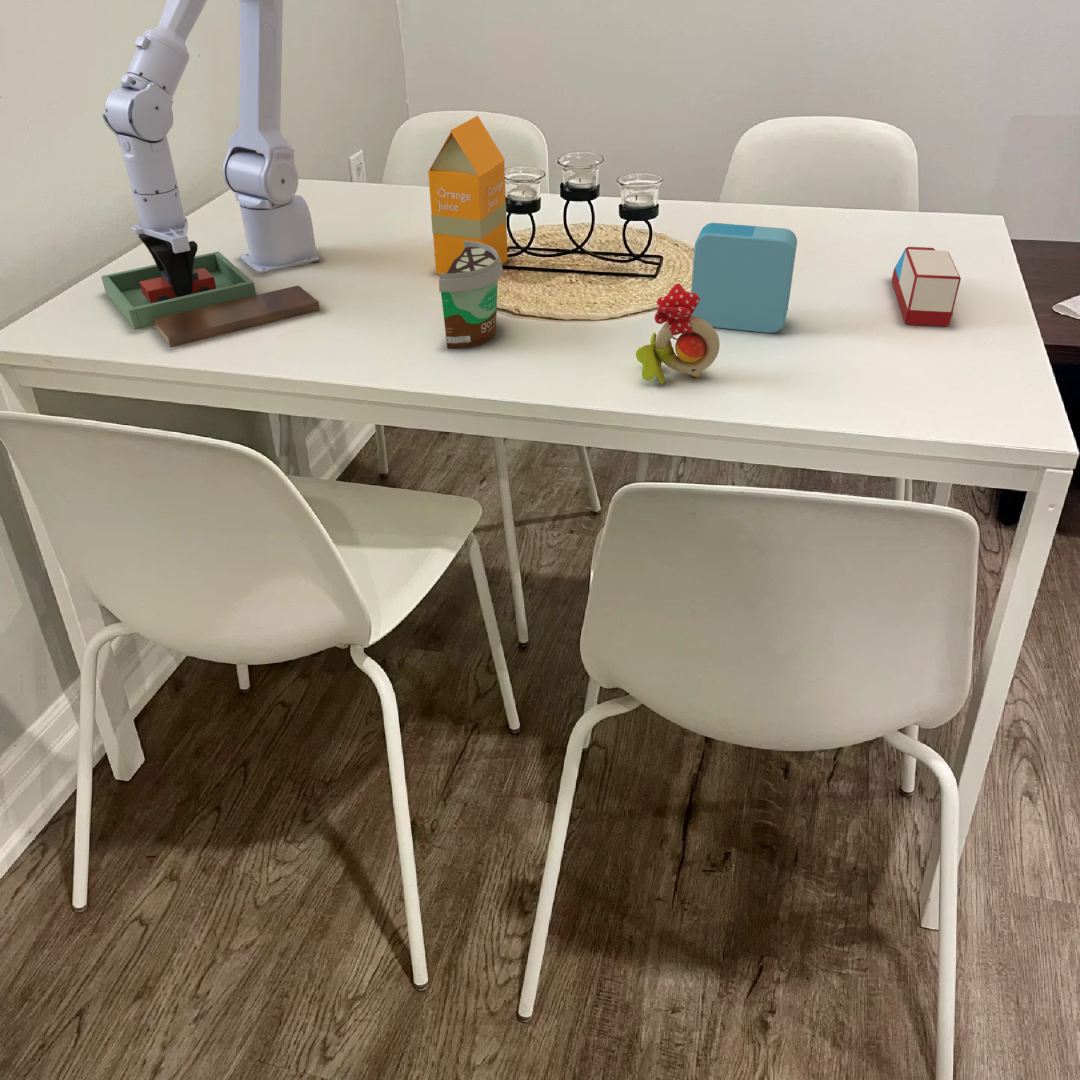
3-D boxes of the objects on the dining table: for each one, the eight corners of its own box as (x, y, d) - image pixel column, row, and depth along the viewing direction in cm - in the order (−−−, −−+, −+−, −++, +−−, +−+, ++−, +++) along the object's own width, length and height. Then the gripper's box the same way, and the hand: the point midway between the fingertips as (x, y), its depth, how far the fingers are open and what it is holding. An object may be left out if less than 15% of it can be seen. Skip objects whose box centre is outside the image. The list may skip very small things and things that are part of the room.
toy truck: (931, 283, 139) (942, 236, 135) (949, 327, 127) (961, 277, 123) (890, 281, 139) (900, 234, 135) (904, 325, 127) (915, 275, 123)
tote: (222, 269, 146) (218, 251, 145) (257, 301, 137) (253, 282, 135) (106, 295, 139) (100, 275, 138) (134, 331, 129) (129, 310, 128)
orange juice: (435, 274, 144) (423, 128, 132) (461, 253, 151) (452, 113, 139) (484, 281, 142) (477, 133, 130) (509, 259, 148) (504, 117, 136)
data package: (786, 321, 129) (799, 228, 122) (782, 335, 125) (795, 241, 118) (693, 311, 132) (701, 221, 125) (688, 325, 128) (695, 232, 121)
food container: (492, 357, 122) (489, 278, 116) (443, 353, 123) (437, 275, 117) (514, 316, 131) (512, 241, 125) (469, 313, 132) (465, 239, 126)
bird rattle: (693, 379, 120) (626, 349, 119) (740, 301, 114) (669, 268, 113) (693, 404, 115) (623, 373, 114) (742, 324, 109) (667, 290, 108)
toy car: (207, 284, 141) (202, 261, 139) (217, 294, 138) (212, 270, 136) (143, 298, 137) (137, 274, 135) (152, 309, 134) (146, 285, 132)
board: (300, 295, 138) (298, 285, 137) (320, 312, 133) (318, 301, 133) (155, 329, 129) (152, 319, 129) (171, 349, 125) (168, 338, 124)
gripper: (109, 180, 132) (135, 278, 140) (139, 208, 122) (165, 312, 130) (162, 171, 135) (184, 268, 143) (195, 198, 125) (217, 300, 133)
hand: (178, 288), depth 137 cm, fingers closed on toy car, 4 cm apart
